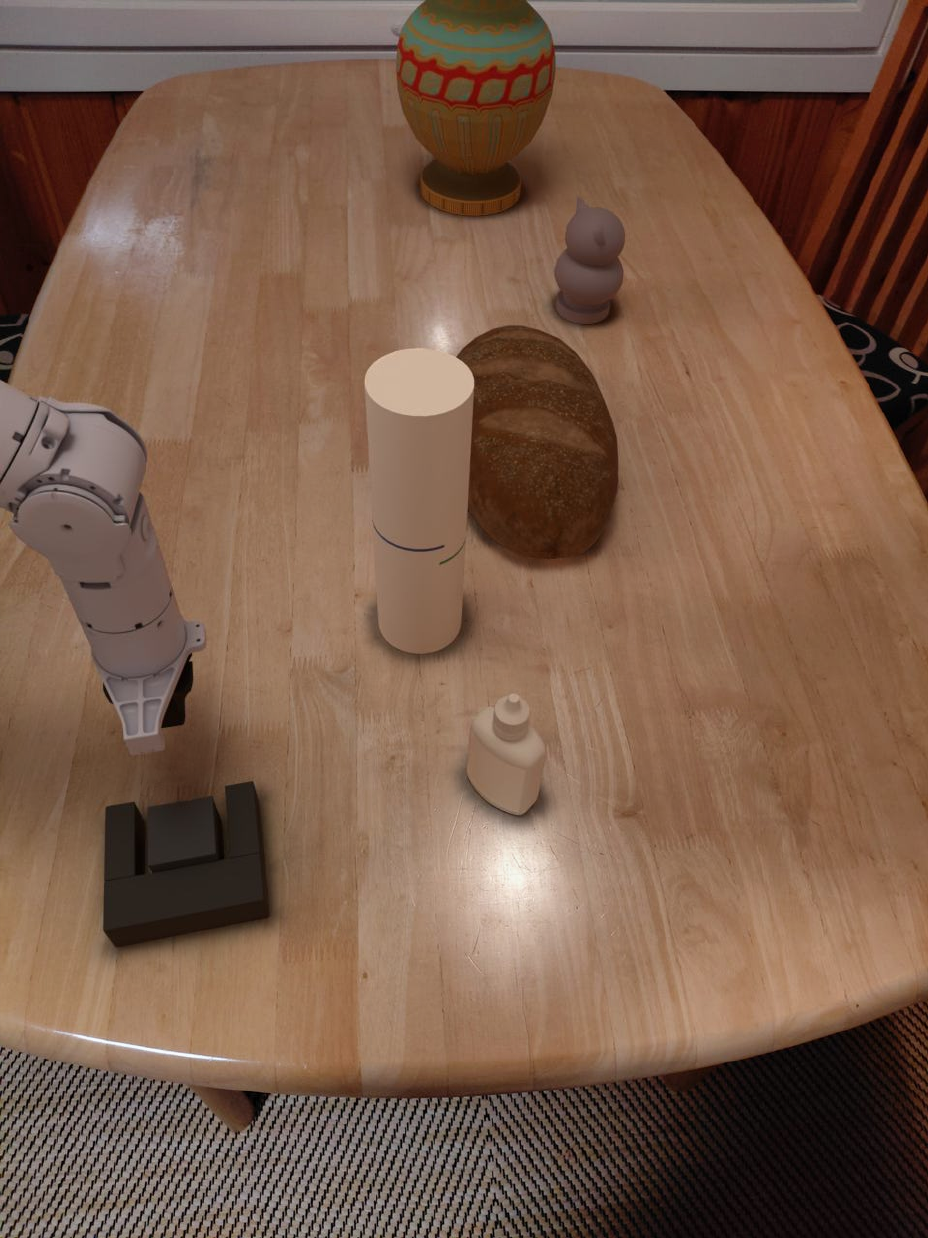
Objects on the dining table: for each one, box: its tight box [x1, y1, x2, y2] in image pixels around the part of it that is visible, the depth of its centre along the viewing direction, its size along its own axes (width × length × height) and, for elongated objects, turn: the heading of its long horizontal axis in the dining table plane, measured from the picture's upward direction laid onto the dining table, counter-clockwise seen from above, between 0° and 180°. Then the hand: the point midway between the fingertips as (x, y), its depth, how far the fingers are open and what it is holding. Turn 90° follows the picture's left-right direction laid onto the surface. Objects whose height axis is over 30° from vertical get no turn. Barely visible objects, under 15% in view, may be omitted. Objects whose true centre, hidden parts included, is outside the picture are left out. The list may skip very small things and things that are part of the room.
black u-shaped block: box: [102, 780, 271, 948], centre depth 64 cm, size 10×9×3 cm
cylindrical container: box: [364, 347, 474, 655], centre depth 70 cm, size 7×7×25 cm
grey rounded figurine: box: [553, 195, 626, 325], centre depth 106 cm, size 8×8×12 cm
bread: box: [455, 324, 619, 561], centre depth 89 cm, size 16×29×11 cm, turn 9°
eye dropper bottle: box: [466, 693, 547, 816], centre depth 66 cm, size 4×6×12 cm
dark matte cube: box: [146, 795, 225, 873], centre depth 64 cm, size 4×4×4 cm
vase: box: [395, 0, 557, 217], centre depth 116 cm, size 20×20×30 cm
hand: (169, 719), depth 67 cm, fingers closed
